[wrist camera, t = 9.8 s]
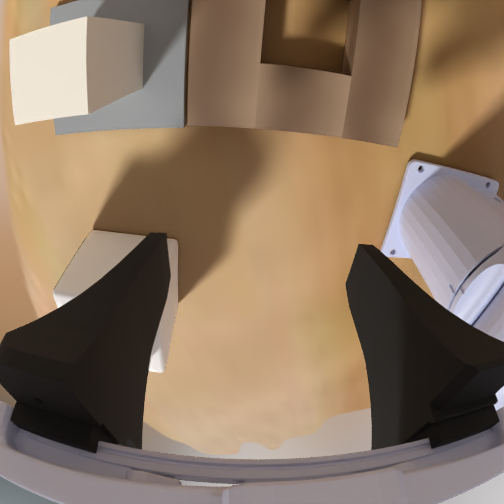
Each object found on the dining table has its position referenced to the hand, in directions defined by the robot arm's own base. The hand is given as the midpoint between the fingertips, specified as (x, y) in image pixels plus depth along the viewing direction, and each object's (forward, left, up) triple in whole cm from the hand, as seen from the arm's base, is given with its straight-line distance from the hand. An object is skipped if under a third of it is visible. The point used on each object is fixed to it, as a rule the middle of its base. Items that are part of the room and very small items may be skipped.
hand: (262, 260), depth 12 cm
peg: (+9, -7, -9) cm, 14 cm away
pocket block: (-2, -9, -9) cm, 13 cm away
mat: (+9, -7, -9) cm, 15 cm away
